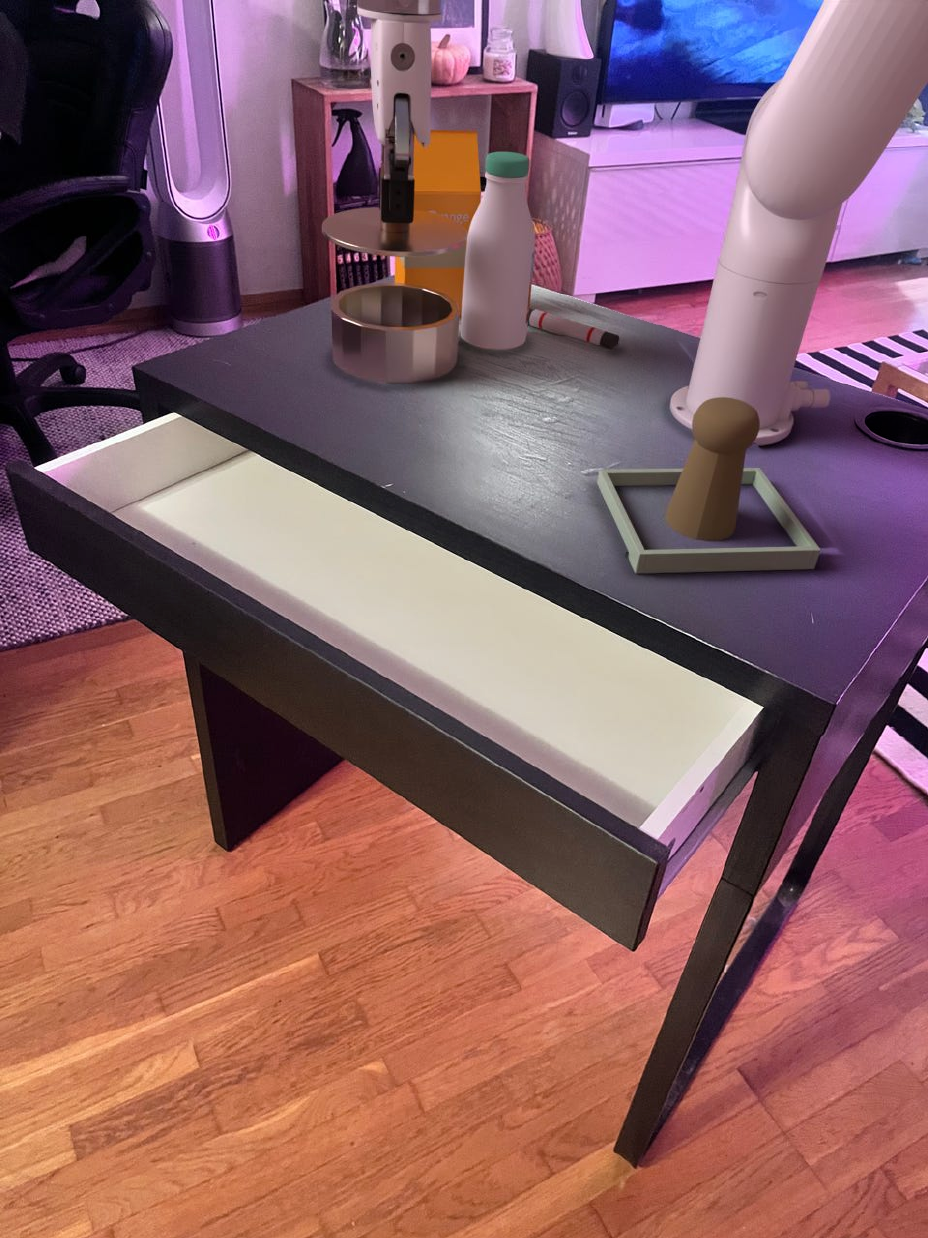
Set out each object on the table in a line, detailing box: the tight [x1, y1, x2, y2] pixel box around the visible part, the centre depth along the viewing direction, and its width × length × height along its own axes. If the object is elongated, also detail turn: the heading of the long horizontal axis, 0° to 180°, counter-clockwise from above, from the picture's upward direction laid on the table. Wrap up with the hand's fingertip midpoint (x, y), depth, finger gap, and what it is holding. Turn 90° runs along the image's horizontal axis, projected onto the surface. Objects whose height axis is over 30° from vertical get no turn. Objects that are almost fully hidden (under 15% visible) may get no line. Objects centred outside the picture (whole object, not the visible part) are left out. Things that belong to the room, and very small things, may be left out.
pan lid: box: [321, 161, 467, 258], centre depth 91 cm, size 15×15×7 cm
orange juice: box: [394, 129, 482, 318], centre depth 109 cm, size 8×9×20 cm
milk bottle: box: [460, 151, 536, 351], centre depth 102 cm, size 8×8×20 cm
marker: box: [527, 307, 620, 350], centre depth 110 cm, size 15×2×2 cm, turn 54°
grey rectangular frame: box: [596, 467, 822, 574], centre depth 78 cm, size 15×13×2 cm
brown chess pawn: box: [664, 397, 760, 542], centre depth 75 cm, size 6×6×11 cm
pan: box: [330, 282, 461, 384], centre depth 100 cm, size 14×14×6 cm
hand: (395, 214), depth 92 cm, fingers closed on pan lid, 3 cm apart
